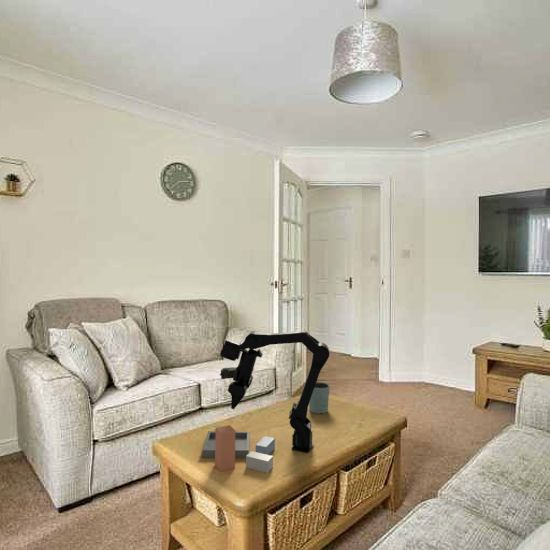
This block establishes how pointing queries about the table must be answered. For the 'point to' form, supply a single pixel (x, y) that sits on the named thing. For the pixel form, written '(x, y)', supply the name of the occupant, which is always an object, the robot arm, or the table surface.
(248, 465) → the grey brick
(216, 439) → the column
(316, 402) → the blue-grey bin
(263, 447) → the slate brick
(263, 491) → the table surface
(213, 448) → the tray
